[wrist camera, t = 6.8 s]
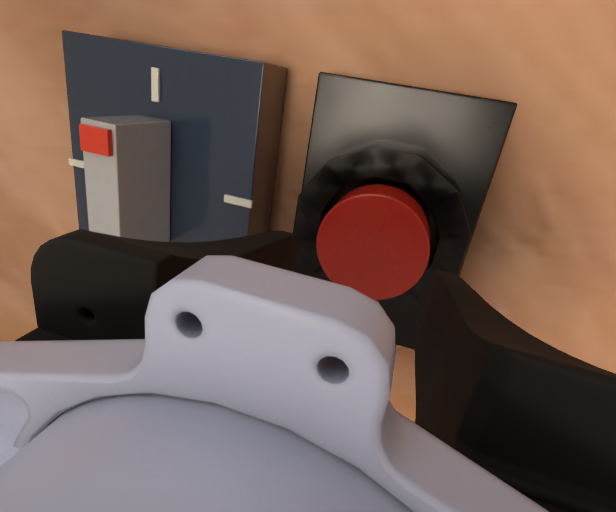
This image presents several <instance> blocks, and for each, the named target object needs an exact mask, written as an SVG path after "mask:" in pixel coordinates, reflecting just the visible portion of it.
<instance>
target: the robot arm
mask: <svg viewBox="0 0 616 512" xmlns="http://www.w3.org/2000/svg"><path fill="white" fill-rule="evenodd" d="M298 237H299V235H296V234H292V233H288V232H284V231H270V232H264V233H259V234H254V235H249V236H244V237H238V238H231V239H225V240H217V241H207V242H160V241H149V240H140V239H132V238H125V237H119V236H113V235H108V234H103V233H98V232H93V231H88V230H84V229H79V230H76V231H73V232H70V233H68V234H65V235H62V236H59V237H57V238H54V239H51V240H49V241H47V242H46V243H44V244H43V245H41V246H40V248H39V249H38V250H37V252H36V253H35V255H34V258H33V262H32V266H31V284H32V291H33V298H34V305H35V311H36V318H37V325H38V328H36V329H35V330H33V331H31V332H29V333H28V334H26V335H24V336H22V337H21V338H19V339H17V340H15V341H0V512H616V374H614V373H612V372H609V371H606V370H603V369H601V368H598V367H596V366H593V365H591V364H589V363H586V362H584V361H582V360H579V359H577V358H575V357H572V356H570V355H568V354H566V353H564V352H562V351H560V350H558V349H556V348H554V347H552V346H550V345H548V344H547V343H545V342H543V341H541V340H539V339H537V338H536V337H534V336H532V335H531V334H529V333H527V332H526V331H524V330H523V329H521V328H520V327H518V326H517V325H515V324H514V323H512V322H511V321H509V320H508V319H507V318H505V317H504V316H503V315H501V314H500V313H499V312H498V311H497V310H495V309H494V308H493V307H492V306H491V305H489V304H488V303H487V302H486V301H485V300H484V299H483V298H482V297H481V296H479V295H478V294H477V293H476V292H475V291H474V290H473V289H472V288H471V287H470V286H469V285H468V284H467V283H466V282H465V281H464V280H463V279H462V278H461V277H459V276H458V275H457V274H453V273H449V272H445V271H441V270H437V269H435V272H434V275H433V279H432V282H431V285H430V288H429V291H428V295H427V298H426V301H425V304H424V307H423V311H422V314H421V317H420V320H419V323H418V329H417V336H416V344H415V381H416V420H415V423H414V422H412V421H411V420H409V419H408V418H406V417H405V416H403V415H402V414H400V413H399V412H397V411H396V410H395V409H394V407H393V406H392V404H391V403H390V401H389V396H390V391H391V383H392V376H393V369H394V362H395V354H396V347H395V326H394V325H393V323H392V322H391V320H390V319H389V317H388V316H387V314H386V313H385V311H384V310H383V308H382V307H381V305H380V304H379V302H377V301H375V300H373V299H372V298H370V297H368V296H366V295H364V294H362V293H360V292H359V291H357V290H355V289H353V288H351V287H348V286H344V285H340V284H337V283H333V282H329V281H325V280H322V279H318V278H314V277H310V276H307V275H303V274H299V273H296V272H293V270H294V263H295V257H296V250H297V243H298Z"/></svg>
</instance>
